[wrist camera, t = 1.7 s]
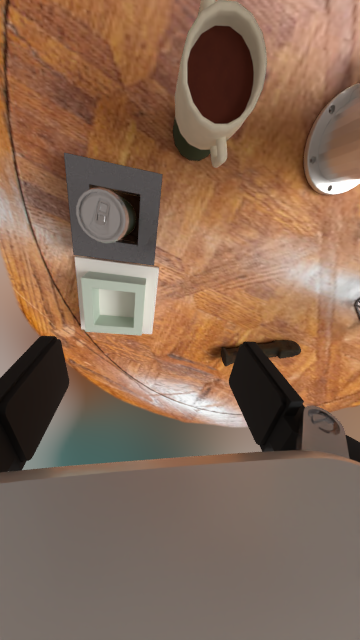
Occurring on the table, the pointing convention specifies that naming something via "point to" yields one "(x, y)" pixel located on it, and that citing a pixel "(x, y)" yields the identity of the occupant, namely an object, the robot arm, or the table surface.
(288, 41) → the table surface
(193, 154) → the character mug
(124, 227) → the beer can
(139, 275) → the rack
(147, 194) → the socket block
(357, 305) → the geometric lantern
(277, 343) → the hand tool
